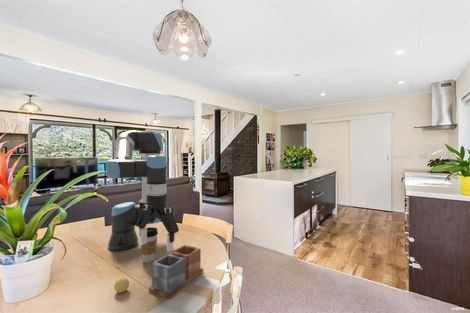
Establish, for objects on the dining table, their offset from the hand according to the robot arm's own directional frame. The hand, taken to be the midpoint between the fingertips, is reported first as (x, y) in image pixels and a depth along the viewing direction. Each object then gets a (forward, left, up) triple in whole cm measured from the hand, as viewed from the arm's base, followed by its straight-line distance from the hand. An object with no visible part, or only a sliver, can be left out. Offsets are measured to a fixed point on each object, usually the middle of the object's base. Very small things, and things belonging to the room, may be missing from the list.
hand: (156, 247), depth 91 cm
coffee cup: (-18, +13, -14) cm, 26 cm away
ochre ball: (-7, -10, -12) cm, 17 cm away
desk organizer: (+7, +5, -14) cm, 17 cm away
